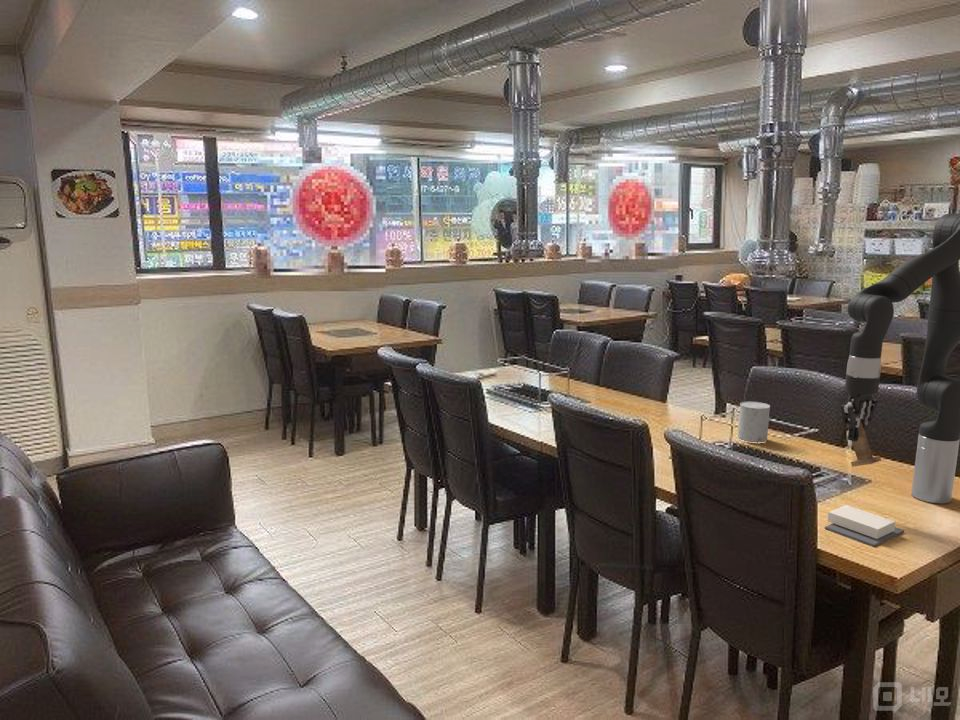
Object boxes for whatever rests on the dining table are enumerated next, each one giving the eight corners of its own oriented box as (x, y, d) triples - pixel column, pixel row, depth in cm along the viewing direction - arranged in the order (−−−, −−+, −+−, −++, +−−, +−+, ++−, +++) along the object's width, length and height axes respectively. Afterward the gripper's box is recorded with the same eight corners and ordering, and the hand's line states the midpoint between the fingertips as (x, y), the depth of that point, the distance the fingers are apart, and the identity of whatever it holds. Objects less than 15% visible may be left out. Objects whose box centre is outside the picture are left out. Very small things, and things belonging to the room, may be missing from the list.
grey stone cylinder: (737, 442, 241) (740, 407, 239) (737, 434, 250) (739, 400, 248) (768, 445, 238) (771, 409, 236) (766, 437, 247) (769, 402, 245)
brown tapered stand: (862, 463, 185) (846, 413, 187) (881, 460, 181) (865, 409, 183) (852, 466, 182) (836, 416, 185) (871, 464, 178) (854, 412, 180)
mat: (855, 515, 182) (855, 513, 181) (904, 532, 172) (904, 530, 172) (824, 528, 174) (824, 526, 174) (873, 546, 164) (874, 544, 164)
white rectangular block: (846, 505, 180) (895, 521, 170) (845, 515, 181) (894, 532, 171) (828, 512, 176) (877, 529, 166) (827, 522, 176) (876, 540, 166)
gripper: (862, 368, 187) (855, 431, 190) (833, 374, 179) (826, 440, 183) (892, 373, 181) (884, 438, 184) (863, 379, 173) (855, 448, 177)
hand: (855, 439), depth 184 cm, fingers closed on brown tapered stand, 2 cm apart
